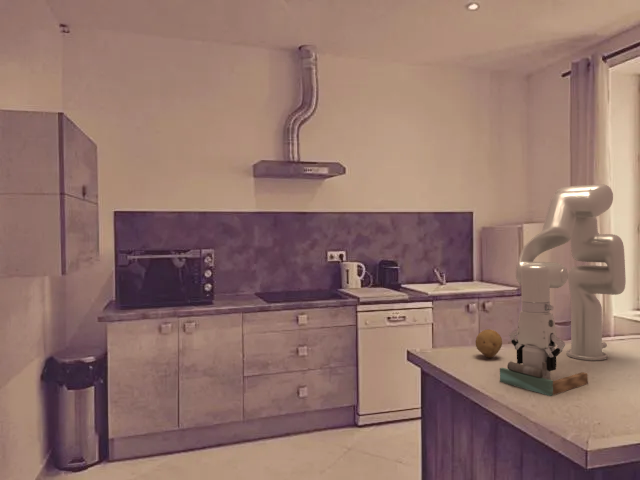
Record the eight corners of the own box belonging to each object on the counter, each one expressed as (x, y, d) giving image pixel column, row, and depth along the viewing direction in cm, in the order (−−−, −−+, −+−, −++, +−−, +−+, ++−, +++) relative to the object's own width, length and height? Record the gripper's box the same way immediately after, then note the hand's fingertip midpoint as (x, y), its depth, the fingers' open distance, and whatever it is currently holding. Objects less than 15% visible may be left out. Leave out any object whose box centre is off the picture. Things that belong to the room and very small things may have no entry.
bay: (537, 371, 164) (537, 344, 164) (587, 383, 151) (587, 354, 151) (498, 382, 154) (498, 353, 154) (548, 396, 141) (548, 364, 140)
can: (553, 389, 147) (553, 346, 146) (525, 388, 148) (524, 346, 148) (547, 381, 154) (547, 340, 154) (520, 380, 155) (520, 340, 155)
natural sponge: (498, 362, 176) (498, 333, 175) (472, 359, 180) (471, 330, 180) (504, 356, 183) (504, 328, 183) (479, 353, 188) (478, 326, 188)
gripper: (571, 309, 145) (572, 371, 145) (517, 302, 159) (518, 358, 160) (555, 312, 141) (556, 375, 141) (501, 305, 155) (502, 362, 156)
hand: (536, 366), depth 151 cm, fingers open, 9 cm apart
